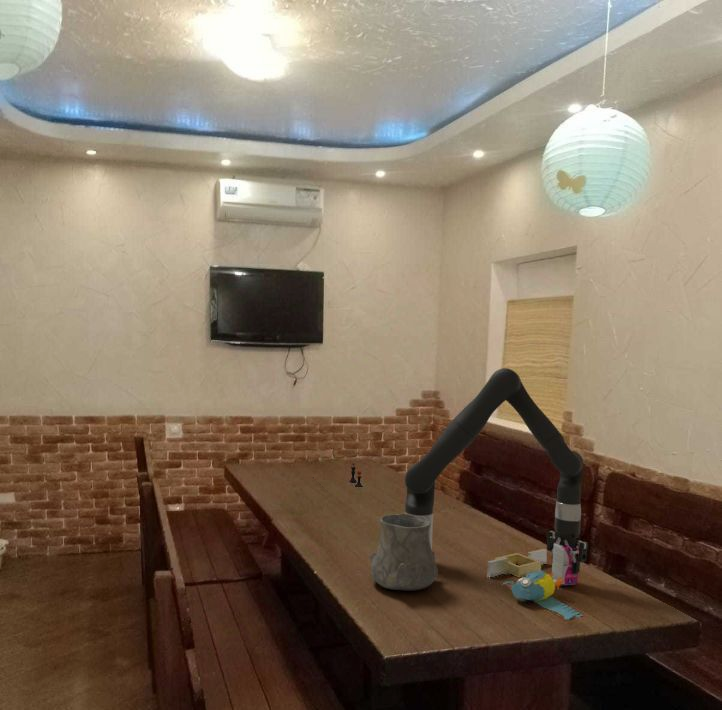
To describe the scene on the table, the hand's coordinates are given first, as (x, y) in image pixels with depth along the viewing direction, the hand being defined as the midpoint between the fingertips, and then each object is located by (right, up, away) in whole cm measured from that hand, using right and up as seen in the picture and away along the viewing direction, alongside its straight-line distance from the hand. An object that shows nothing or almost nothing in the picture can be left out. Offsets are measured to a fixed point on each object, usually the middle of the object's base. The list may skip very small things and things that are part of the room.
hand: (565, 569), depth 198 cm
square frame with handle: (-12, -4, +11) cm, 17 cm away
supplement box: (0, -4, 0) cm, 4 cm away
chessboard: (-64, -1, +132) cm, 147 cm away
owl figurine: (-12, -5, -13) cm, 18 cm away
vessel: (-51, -3, -4) cm, 51 cm away
